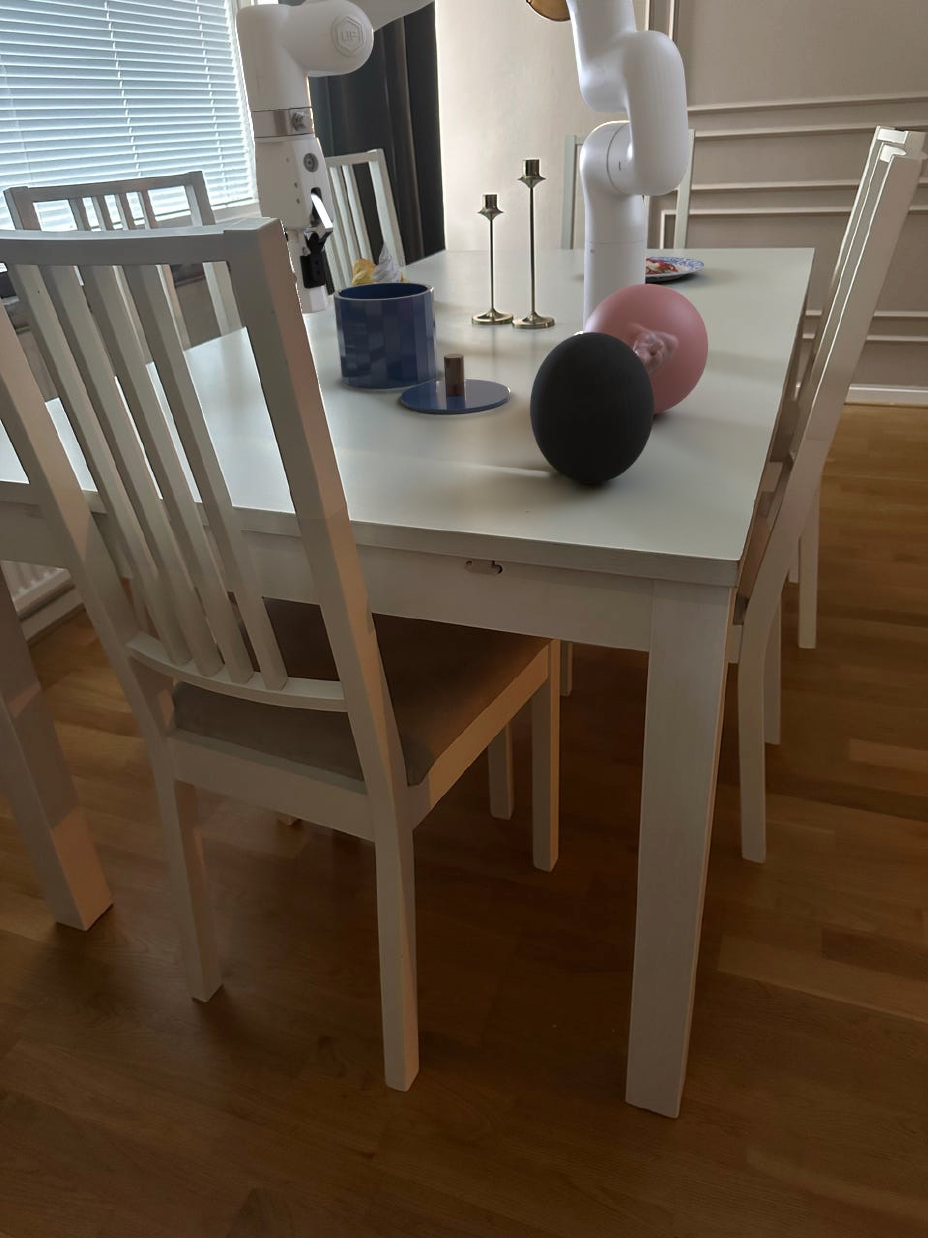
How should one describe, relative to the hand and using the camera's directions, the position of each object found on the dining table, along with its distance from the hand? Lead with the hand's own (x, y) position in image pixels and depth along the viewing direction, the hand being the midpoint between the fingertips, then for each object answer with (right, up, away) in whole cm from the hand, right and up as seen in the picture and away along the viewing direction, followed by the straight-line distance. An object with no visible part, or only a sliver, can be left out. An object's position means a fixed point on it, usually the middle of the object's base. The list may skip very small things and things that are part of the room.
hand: (304, 283), depth 121 cm
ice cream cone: (+8, +8, +45) cm, 46 cm away
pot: (+10, -9, +15) cm, 20 cm away
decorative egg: (+34, -29, -24) cm, 51 cm away
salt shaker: (0, -3, +2) cm, 3 cm away
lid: (+20, -14, +3) cm, 24 cm away
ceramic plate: (+61, +32, +83) cm, 108 cm away
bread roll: (+4, +22, +71) cm, 74 cm away
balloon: (+42, -19, -7) cm, 47 cm away
